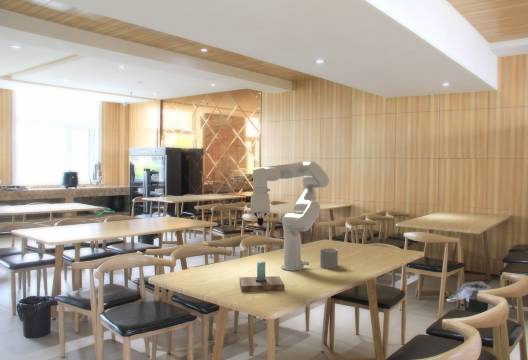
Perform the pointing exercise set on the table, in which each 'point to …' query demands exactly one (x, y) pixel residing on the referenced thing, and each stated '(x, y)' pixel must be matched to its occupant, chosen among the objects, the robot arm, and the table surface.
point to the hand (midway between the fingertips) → (260, 225)
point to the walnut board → (261, 284)
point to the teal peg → (261, 271)
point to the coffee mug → (329, 258)
